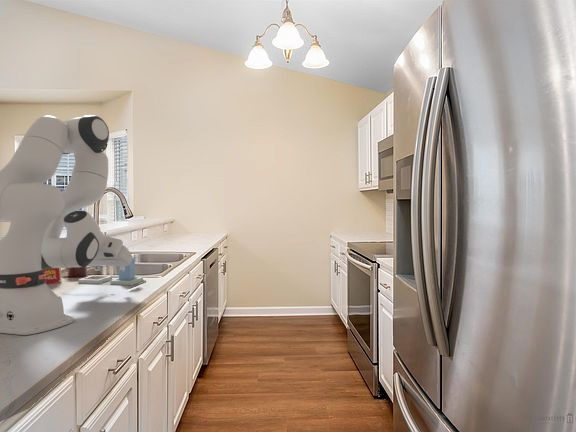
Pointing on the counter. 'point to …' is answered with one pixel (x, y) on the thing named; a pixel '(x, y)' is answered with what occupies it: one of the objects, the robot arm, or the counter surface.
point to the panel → (109, 281)
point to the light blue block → (128, 272)
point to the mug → (77, 271)
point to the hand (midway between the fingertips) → (110, 269)
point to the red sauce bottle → (53, 275)
